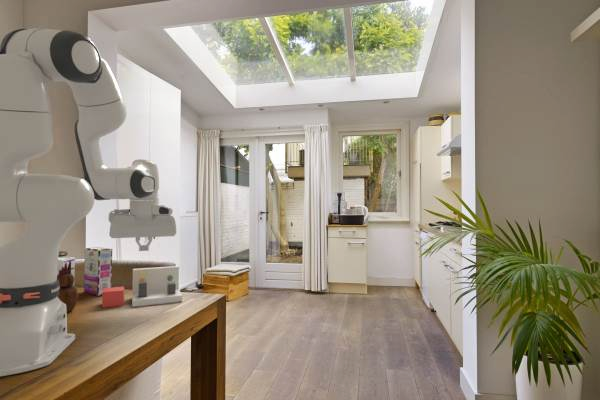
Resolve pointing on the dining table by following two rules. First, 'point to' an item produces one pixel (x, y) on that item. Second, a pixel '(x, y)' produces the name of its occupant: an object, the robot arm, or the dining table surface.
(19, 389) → the dining table surface
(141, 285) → the block
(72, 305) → the wooden figurine
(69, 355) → the dining table surface
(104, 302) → the cap
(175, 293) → the breaker panel
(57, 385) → the dining table surface
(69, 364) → the dining table surface
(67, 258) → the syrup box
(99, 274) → the candy bar box
